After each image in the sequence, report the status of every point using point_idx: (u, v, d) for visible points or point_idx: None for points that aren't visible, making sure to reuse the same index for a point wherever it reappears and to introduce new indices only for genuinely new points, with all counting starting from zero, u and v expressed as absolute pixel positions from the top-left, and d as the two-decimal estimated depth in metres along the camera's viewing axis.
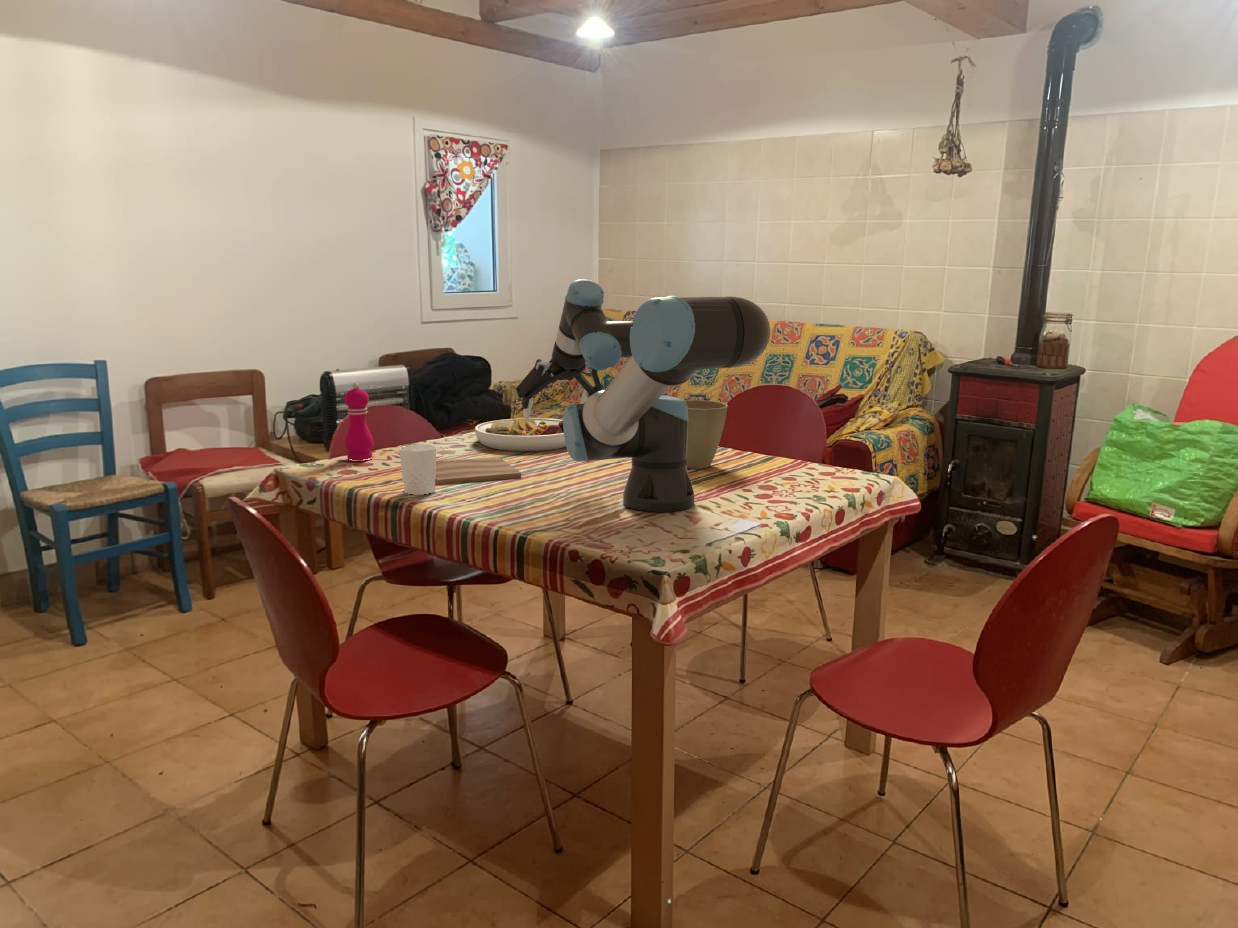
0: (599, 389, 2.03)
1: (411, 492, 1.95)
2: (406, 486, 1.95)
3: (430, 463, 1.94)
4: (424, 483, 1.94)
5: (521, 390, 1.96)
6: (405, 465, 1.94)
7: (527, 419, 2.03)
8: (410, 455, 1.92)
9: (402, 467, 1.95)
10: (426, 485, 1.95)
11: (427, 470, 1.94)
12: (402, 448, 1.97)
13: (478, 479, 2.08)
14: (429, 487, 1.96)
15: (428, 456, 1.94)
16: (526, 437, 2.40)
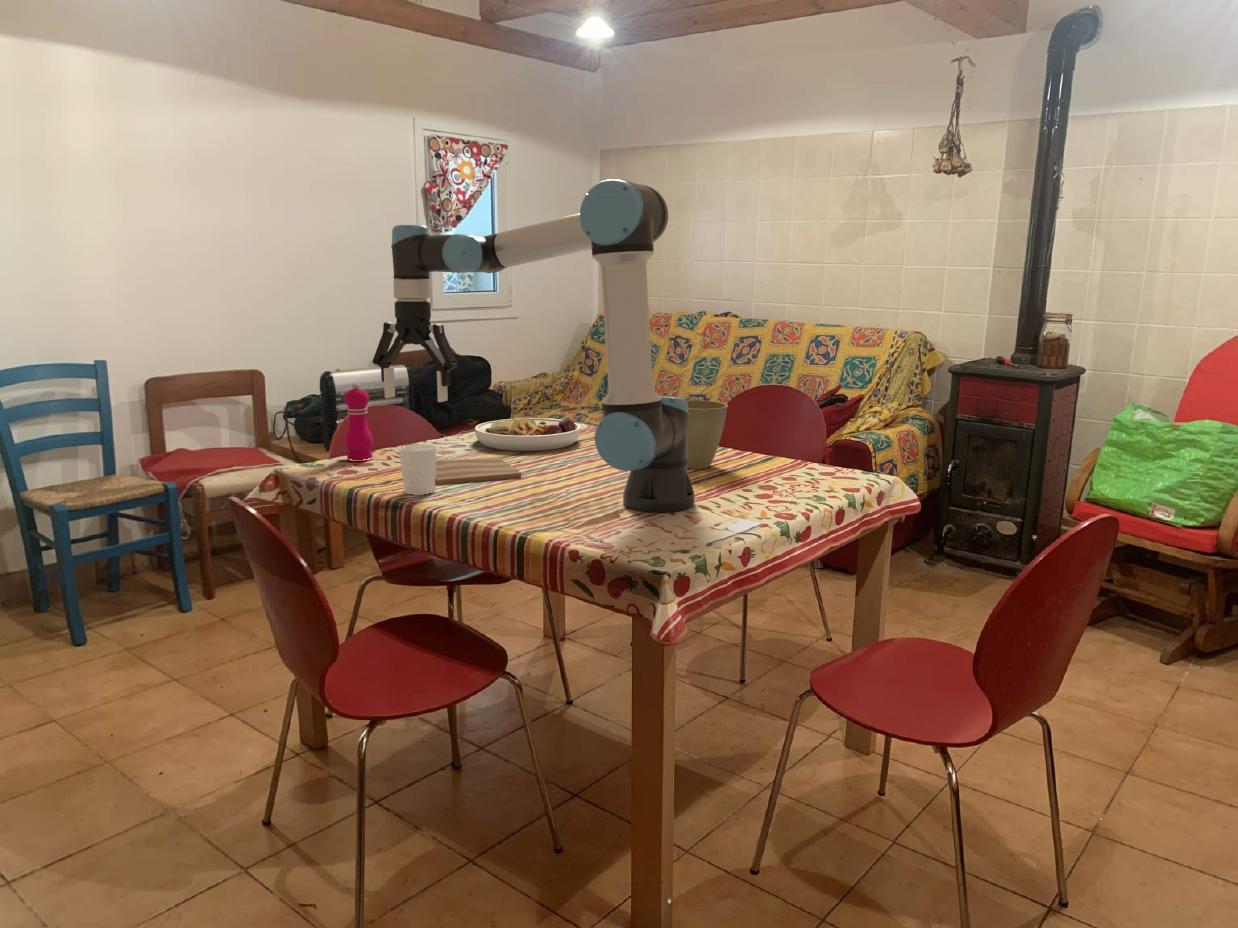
0: (447, 361, 1.88)
1: (411, 492, 1.95)
2: (406, 486, 1.95)
3: (430, 463, 1.94)
4: (424, 483, 1.94)
5: None
6: (405, 465, 1.94)
7: (386, 395, 1.95)
8: (410, 455, 1.92)
9: (402, 467, 1.95)
10: (426, 485, 1.95)
11: (427, 470, 1.94)
12: (402, 448, 1.97)
13: (478, 479, 2.08)
14: (429, 487, 1.96)
15: (428, 456, 1.94)
16: (526, 437, 2.40)
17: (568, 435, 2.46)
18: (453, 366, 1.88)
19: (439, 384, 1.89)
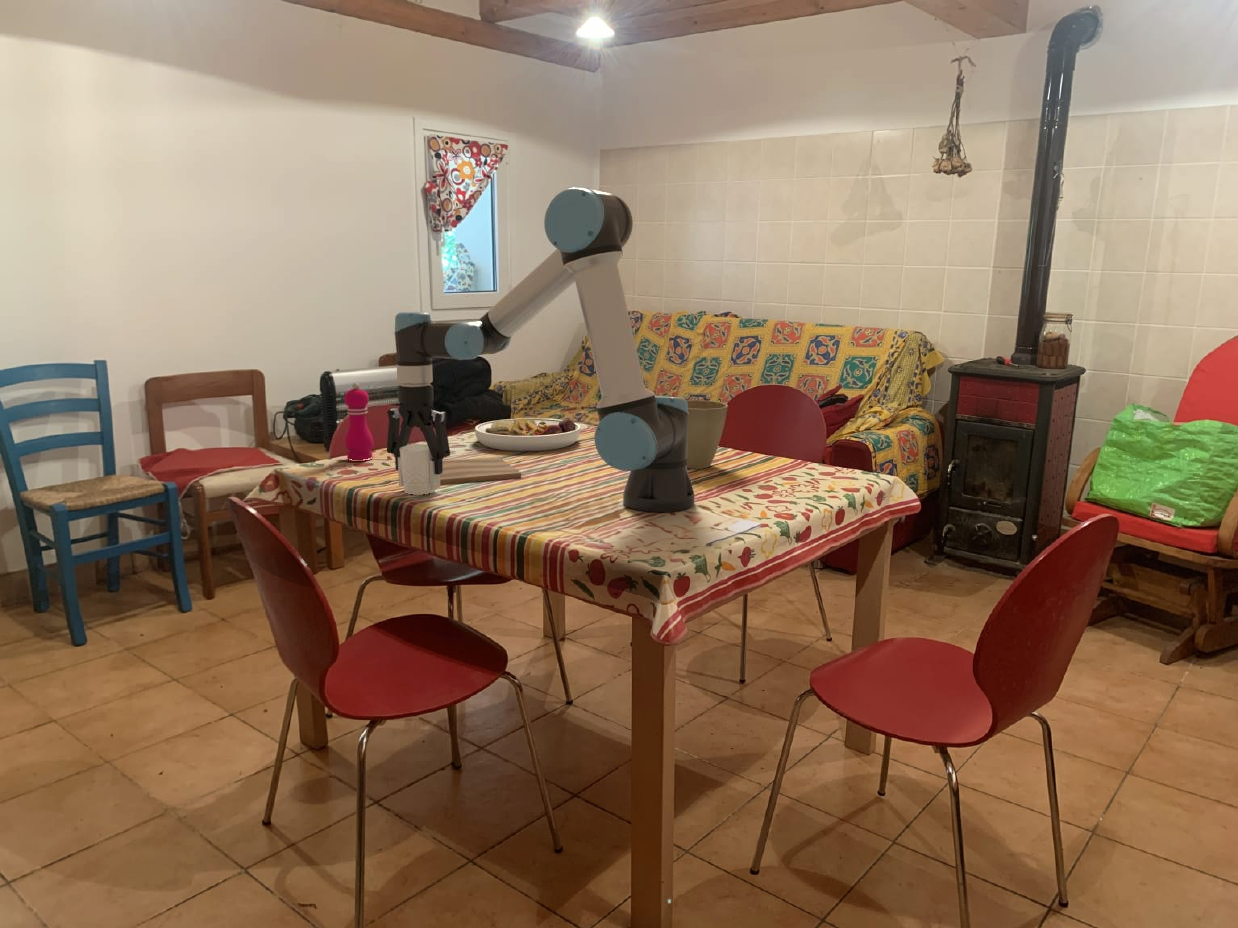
0: (440, 450, 1.92)
1: (411, 492, 1.95)
2: (406, 486, 1.95)
3: None
4: (424, 483, 1.94)
5: None
6: (405, 465, 1.94)
7: (400, 484, 1.98)
8: (410, 455, 1.92)
9: (402, 467, 1.95)
10: (426, 485, 1.95)
11: (427, 470, 1.94)
12: (402, 448, 1.97)
13: (478, 479, 2.08)
14: (429, 487, 1.96)
15: (428, 455, 1.94)
16: (526, 437, 2.40)
17: (568, 435, 2.46)
18: (445, 455, 1.93)
19: (432, 472, 1.94)
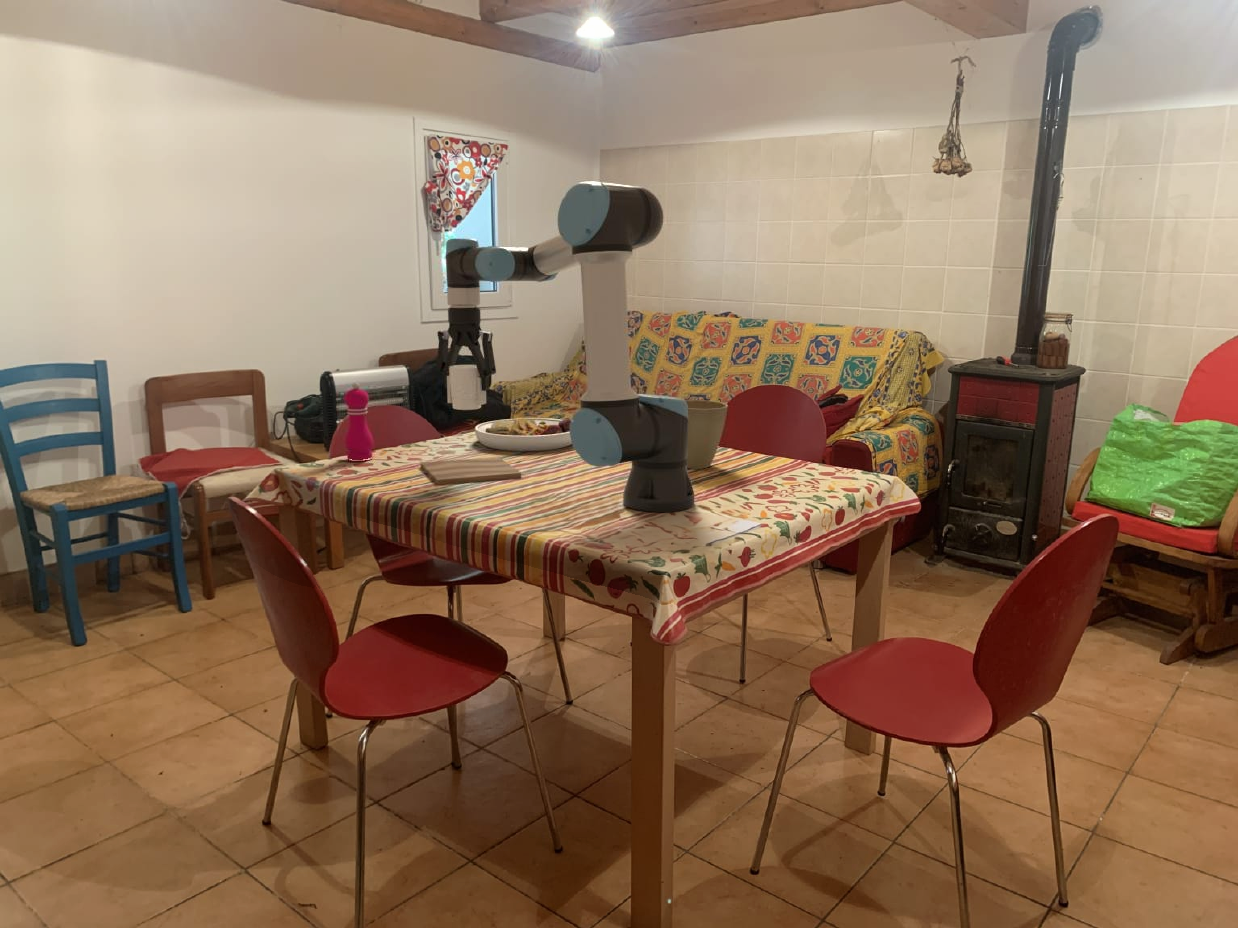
0: (487, 367, 2.08)
1: (460, 407, 2.10)
2: (455, 401, 2.11)
3: None
4: (472, 399, 2.10)
5: None
6: (454, 381, 2.09)
7: (449, 400, 2.13)
8: (459, 372, 2.08)
9: (451, 384, 2.10)
10: (473, 401, 2.10)
11: (475, 386, 2.10)
12: (451, 367, 2.12)
13: (478, 479, 2.08)
14: (476, 403, 2.11)
15: (476, 373, 2.09)
16: (526, 437, 2.40)
17: (568, 435, 2.46)
18: (492, 372, 2.09)
19: (479, 389, 2.10)
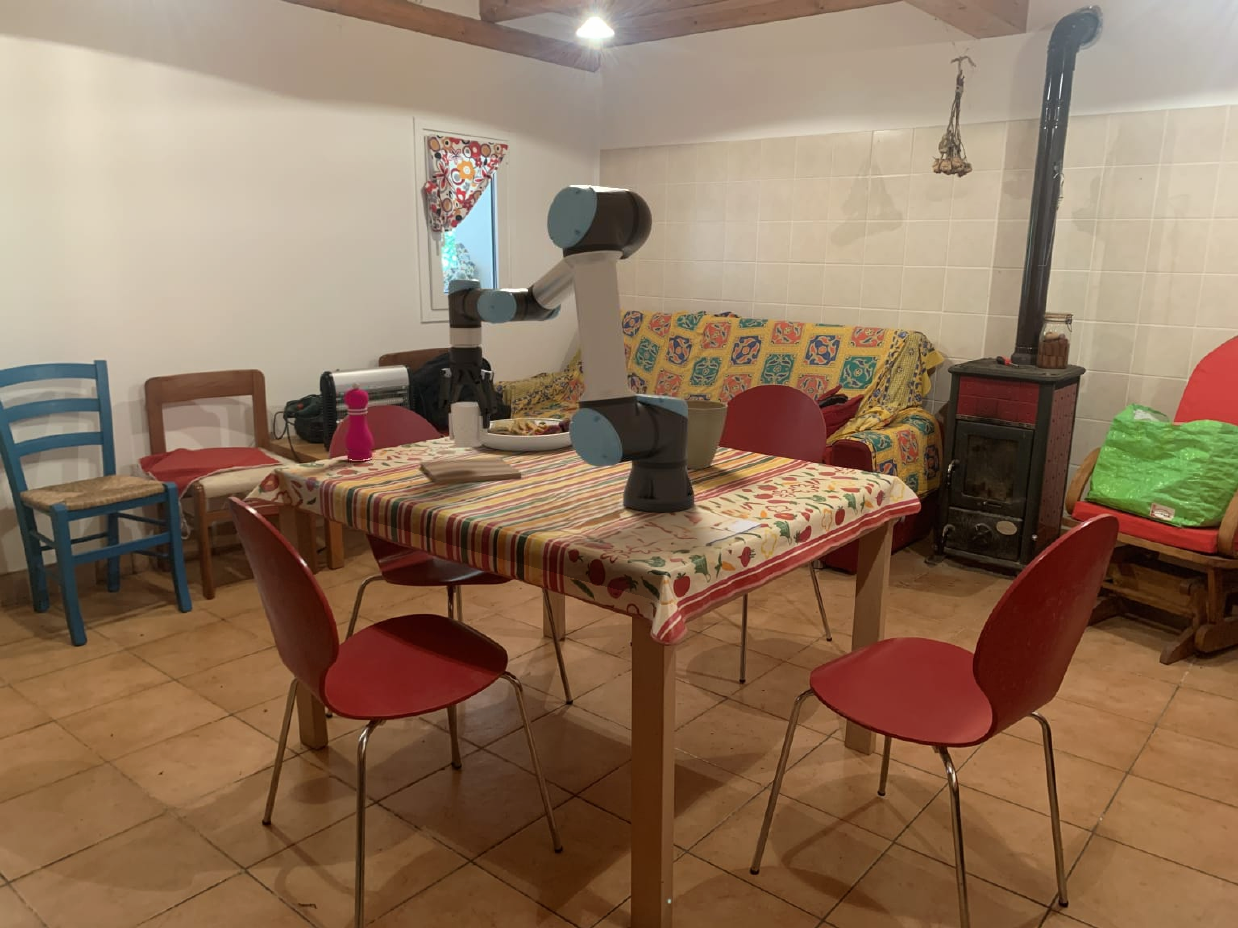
0: (489, 406, 2.10)
1: (461, 445, 2.13)
2: (457, 439, 2.13)
3: None
4: (473, 436, 2.12)
5: None
6: (456, 419, 2.11)
7: (450, 438, 2.16)
8: (461, 411, 2.10)
9: (453, 422, 2.12)
10: (475, 438, 2.13)
11: (476, 424, 2.12)
12: (453, 404, 2.15)
13: (478, 479, 2.08)
14: (477, 441, 2.13)
15: (477, 411, 2.11)
16: (526, 437, 2.40)
17: (568, 435, 2.46)
18: (493, 411, 2.11)
19: (480, 427, 2.12)
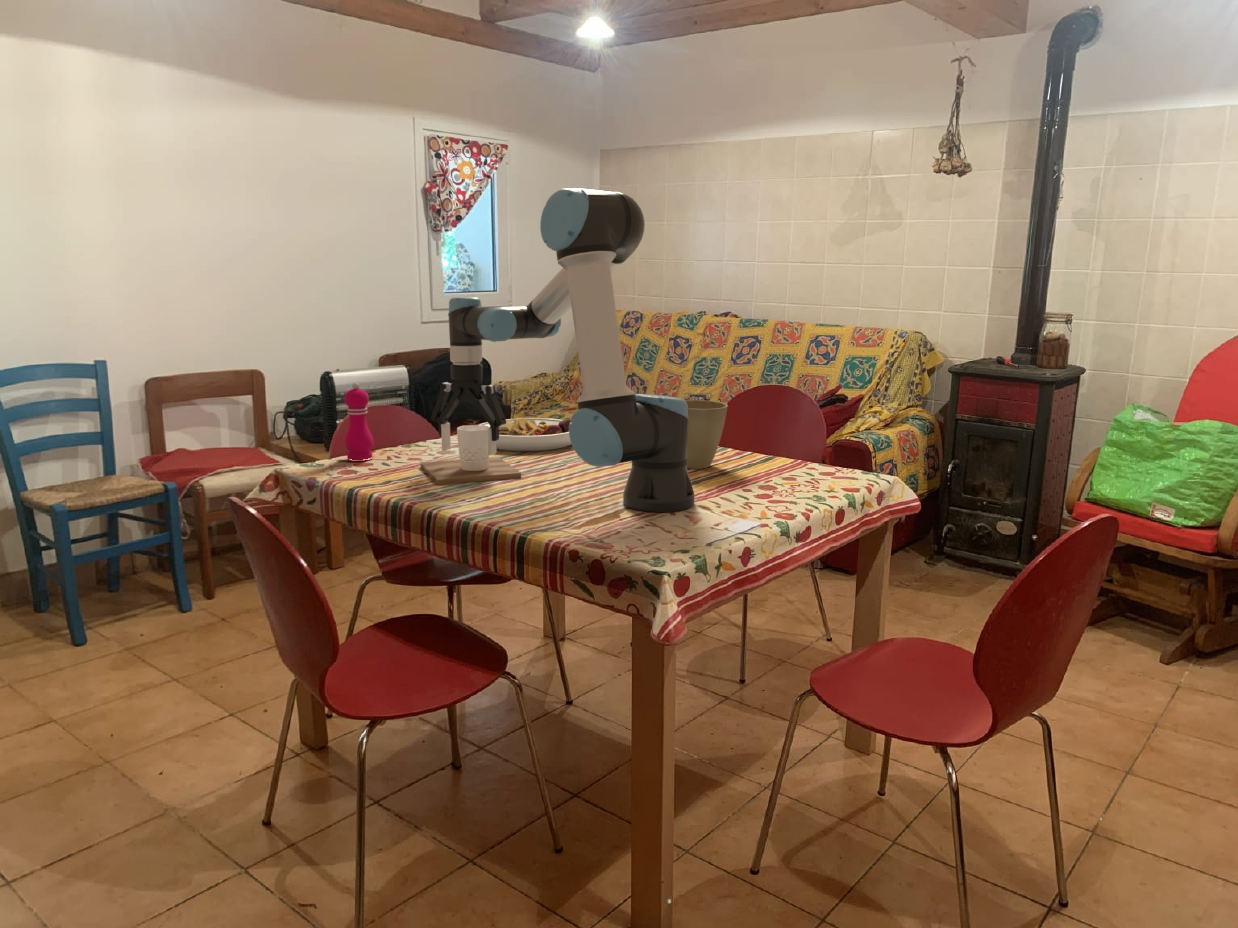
0: (497, 418, 2.10)
1: (468, 468, 2.13)
2: (464, 463, 2.13)
3: (486, 442, 2.13)
4: (480, 460, 2.13)
5: None
6: (463, 443, 2.12)
7: (443, 448, 2.17)
8: (468, 434, 2.10)
9: (460, 445, 2.13)
10: (482, 462, 2.13)
11: (483, 448, 2.12)
12: (459, 428, 2.15)
13: (478, 479, 2.08)
14: (484, 464, 2.14)
15: (484, 435, 2.12)
16: (526, 437, 2.40)
17: (568, 435, 2.46)
18: (502, 423, 2.10)
19: (489, 439, 2.12)
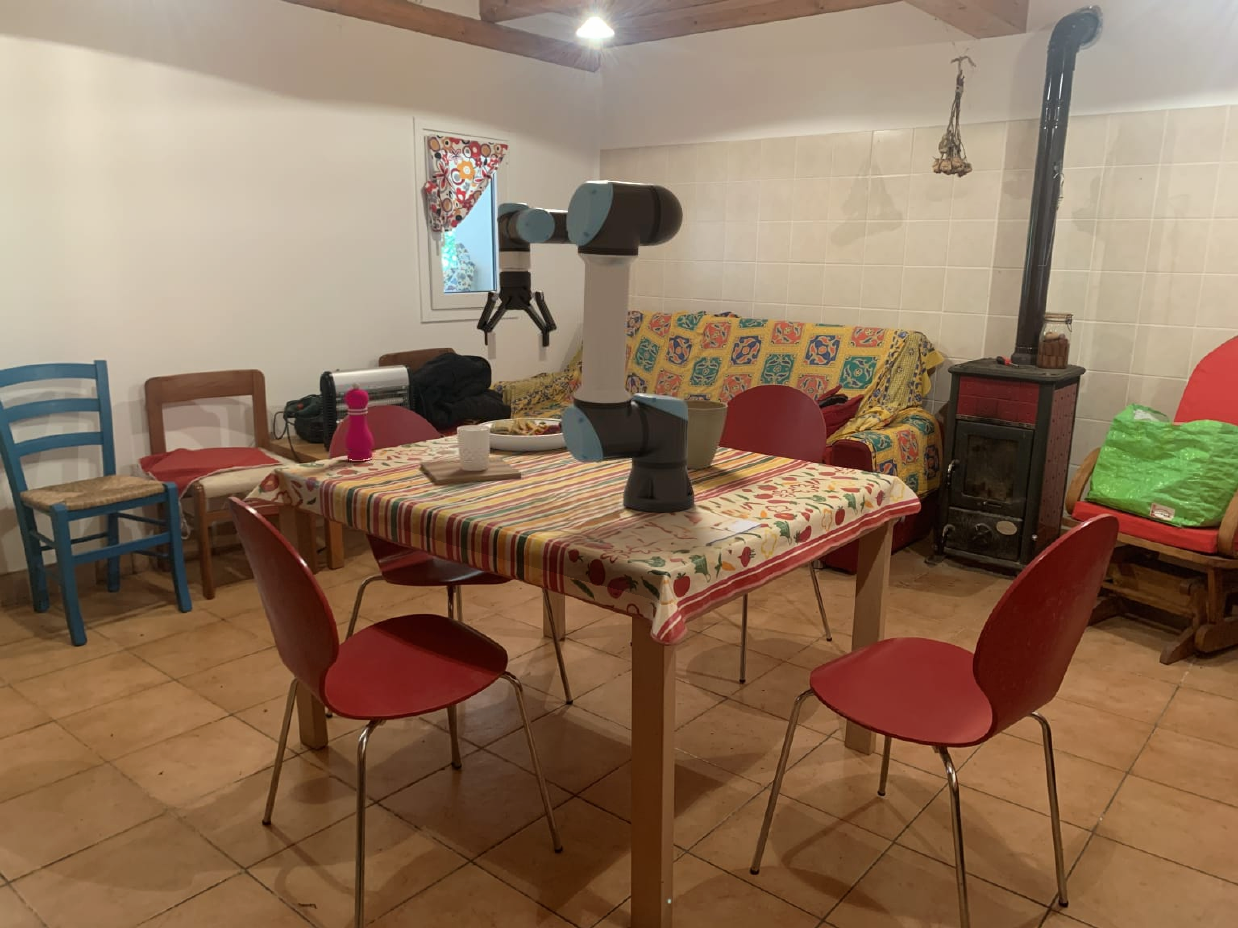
0: (548, 323, 2.11)
1: (468, 468, 2.13)
2: (464, 463, 2.13)
3: (486, 442, 2.13)
4: (480, 460, 2.13)
5: None
6: (463, 443, 2.12)
7: (489, 357, 2.17)
8: (468, 434, 2.10)
9: (460, 445, 2.13)
10: (482, 462, 2.13)
11: (483, 448, 2.12)
12: (459, 428, 2.15)
13: (478, 479, 2.08)
14: (484, 464, 2.14)
15: (484, 435, 2.12)
16: (526, 437, 2.40)
17: None
18: (553, 328, 2.11)
19: (540, 345, 2.12)
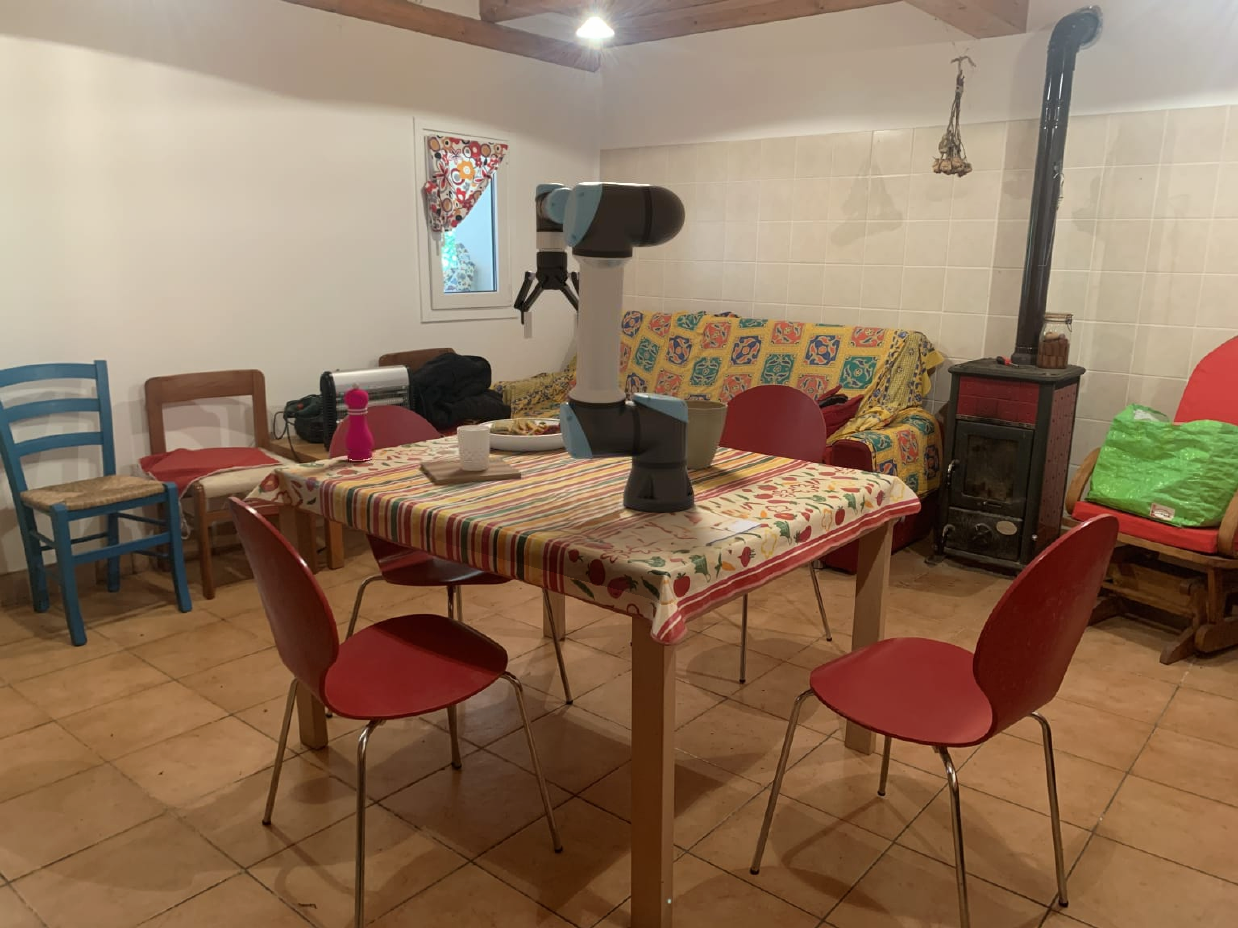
0: None
1: (468, 468, 2.13)
2: (464, 463, 2.13)
3: (486, 442, 2.13)
4: (480, 460, 2.13)
5: None
6: (462, 443, 2.12)
7: (525, 336, 2.21)
8: (468, 434, 2.10)
9: (460, 445, 2.13)
10: (482, 462, 2.13)
11: (483, 448, 2.12)
12: (459, 428, 2.15)
13: (478, 479, 2.08)
14: (484, 464, 2.14)
15: (484, 435, 2.12)
16: (526, 437, 2.40)
17: None
18: None
19: (576, 324, 2.15)
